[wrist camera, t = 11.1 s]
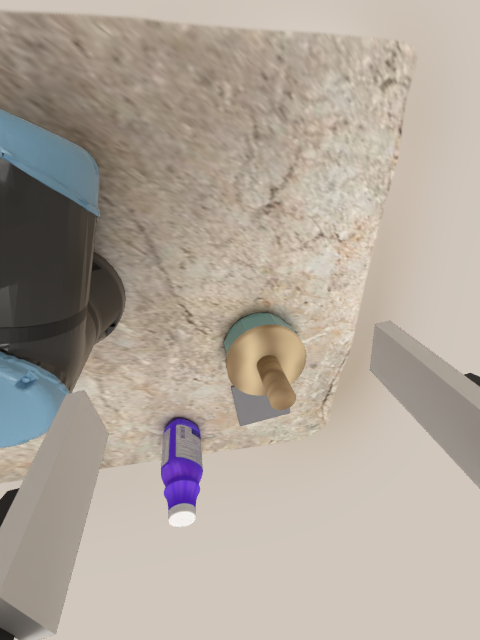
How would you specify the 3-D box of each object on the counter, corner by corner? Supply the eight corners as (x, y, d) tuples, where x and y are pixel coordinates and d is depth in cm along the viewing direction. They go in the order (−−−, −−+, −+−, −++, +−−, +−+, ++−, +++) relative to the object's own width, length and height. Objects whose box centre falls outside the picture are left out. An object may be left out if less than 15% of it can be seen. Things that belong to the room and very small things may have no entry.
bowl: (231, 375, 54) (235, 394, 49) (218, 321, 48) (222, 337, 43) (292, 360, 55) (301, 377, 50) (287, 305, 49) (298, 319, 44)
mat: (239, 424, 60) (240, 426, 60) (230, 386, 55) (231, 387, 55) (289, 411, 61) (290, 413, 61) (285, 372, 56) (286, 373, 55)
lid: (233, 397, 50) (243, 443, 41) (218, 335, 43) (227, 375, 35) (304, 379, 51) (328, 420, 42) (300, 316, 44) (328, 350, 36)
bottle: (158, 429, 57) (150, 524, 42) (176, 411, 55) (175, 503, 40) (186, 442, 60) (189, 535, 45) (204, 426, 59) (213, 516, 44)
